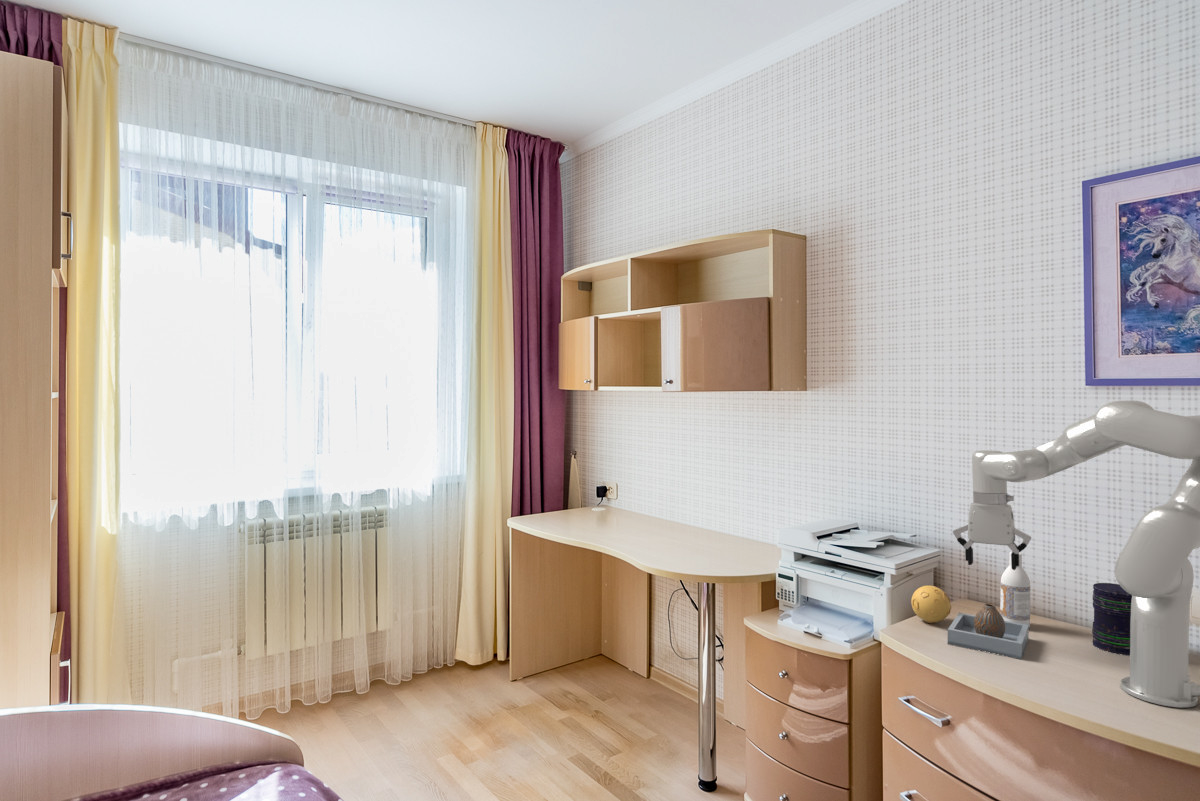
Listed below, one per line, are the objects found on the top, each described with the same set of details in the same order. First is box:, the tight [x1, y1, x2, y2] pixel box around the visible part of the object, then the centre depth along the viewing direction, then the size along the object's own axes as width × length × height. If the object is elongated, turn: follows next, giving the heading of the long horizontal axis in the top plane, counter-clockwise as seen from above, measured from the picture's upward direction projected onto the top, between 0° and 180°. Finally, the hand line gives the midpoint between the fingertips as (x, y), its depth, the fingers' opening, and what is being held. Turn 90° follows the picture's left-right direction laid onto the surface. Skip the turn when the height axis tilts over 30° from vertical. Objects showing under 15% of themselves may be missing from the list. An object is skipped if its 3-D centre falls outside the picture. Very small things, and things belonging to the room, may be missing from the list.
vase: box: [974, 603, 1005, 638], centre depth 171 cm, size 7×7×9 cm
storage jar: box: [1091, 582, 1132, 656], centre depth 168 cm, size 10×10×15 cm
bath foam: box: [999, 551, 1031, 628], centre depth 183 cm, size 7×7×20 cm
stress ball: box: [910, 585, 952, 624], centre depth 186 cm, size 10×10×10 cm
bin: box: [947, 612, 1030, 661], centre depth 172 cm, size 16×16×4 cm
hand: (992, 566), depth 171 cm, fingers open, 9 cm apart
